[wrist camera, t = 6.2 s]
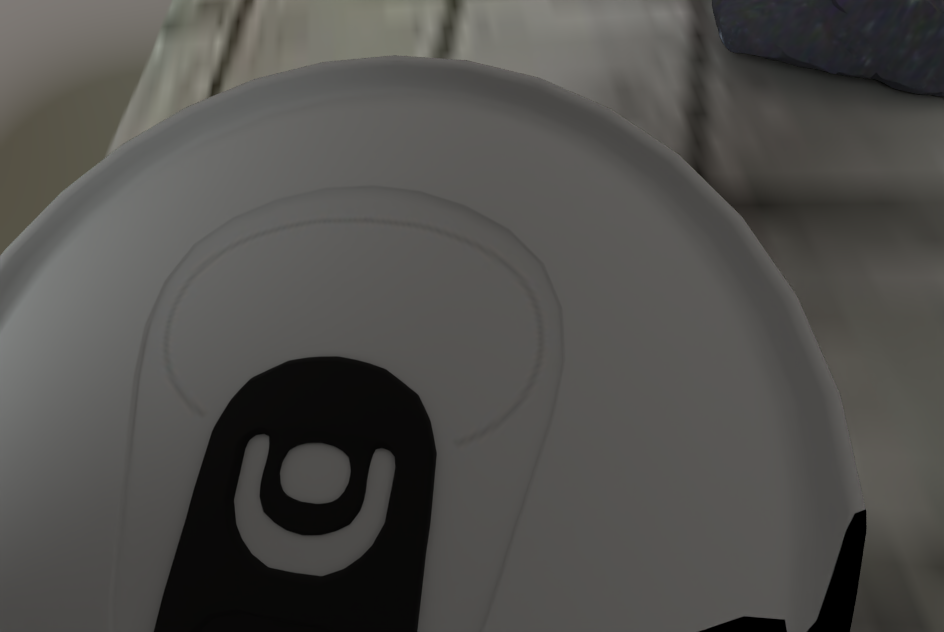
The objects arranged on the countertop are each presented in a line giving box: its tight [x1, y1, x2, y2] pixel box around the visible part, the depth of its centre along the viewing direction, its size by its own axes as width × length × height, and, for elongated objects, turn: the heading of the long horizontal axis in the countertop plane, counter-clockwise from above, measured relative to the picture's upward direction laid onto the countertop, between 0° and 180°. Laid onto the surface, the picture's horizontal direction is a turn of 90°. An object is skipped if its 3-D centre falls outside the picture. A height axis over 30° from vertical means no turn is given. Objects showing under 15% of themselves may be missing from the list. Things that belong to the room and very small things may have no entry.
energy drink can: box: [0, 55, 866, 632], centre depth 9 cm, size 6×6×15 cm
